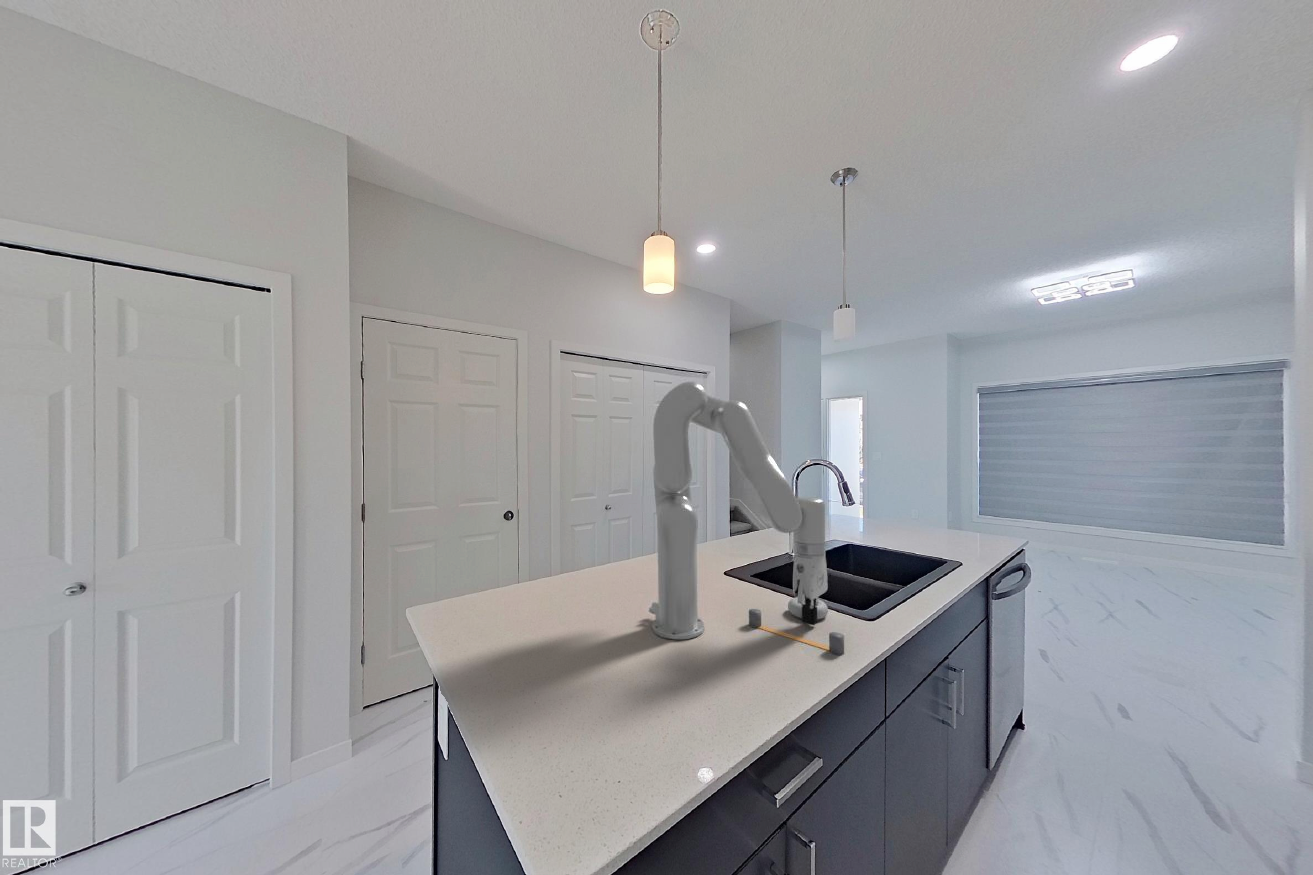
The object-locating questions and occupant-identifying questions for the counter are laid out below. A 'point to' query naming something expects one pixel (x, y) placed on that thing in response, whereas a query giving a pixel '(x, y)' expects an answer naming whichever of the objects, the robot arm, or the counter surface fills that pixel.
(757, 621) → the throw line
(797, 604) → the donut
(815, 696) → the counter surface
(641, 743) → the counter surface
